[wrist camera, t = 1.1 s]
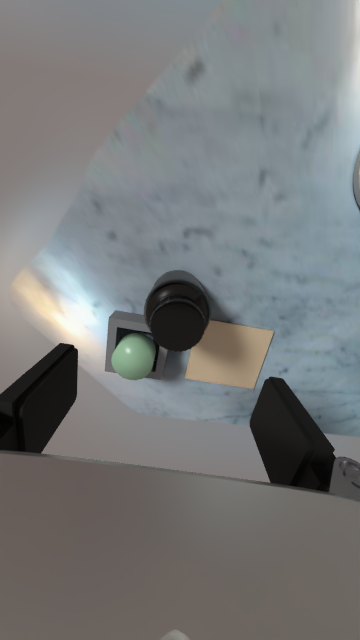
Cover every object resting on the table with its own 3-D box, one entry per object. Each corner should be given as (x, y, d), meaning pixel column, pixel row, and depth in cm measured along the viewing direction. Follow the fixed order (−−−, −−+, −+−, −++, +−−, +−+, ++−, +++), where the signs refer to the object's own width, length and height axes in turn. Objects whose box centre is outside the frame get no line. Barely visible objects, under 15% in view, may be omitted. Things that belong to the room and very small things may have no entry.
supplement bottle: (193, 324, 31) (200, 372, 20) (146, 309, 30) (126, 350, 19) (210, 278, 29) (230, 303, 18) (161, 261, 28) (148, 276, 17)
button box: (172, 320, 31) (171, 328, 28) (163, 368, 34) (162, 380, 31) (115, 310, 30) (108, 317, 28) (111, 360, 33) (104, 371, 30)
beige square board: (273, 330, 32) (274, 331, 31) (252, 387, 35) (253, 389, 35) (198, 317, 31) (198, 318, 31) (184, 377, 34) (184, 378, 34)
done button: (158, 336, 29) (155, 347, 26) (153, 368, 30) (150, 382, 27) (120, 329, 28) (113, 340, 25) (117, 362, 30) (110, 376, 27)
